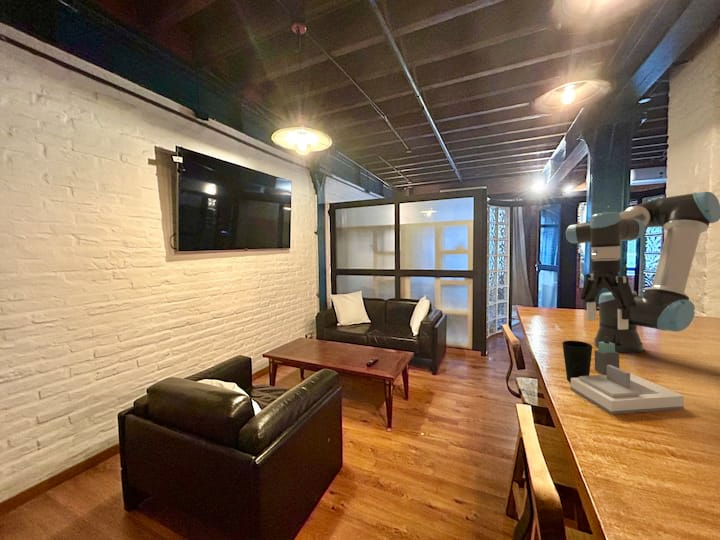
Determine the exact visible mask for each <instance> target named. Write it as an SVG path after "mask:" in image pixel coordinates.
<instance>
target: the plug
mask: <svg viewBox="0 0 720 540" xmlns="http://www.w3.org/2000/svg"><path fill="white" fill-rule="evenodd" d="M597 348H598V349H595V350H594V371H596V372H598V373H600V374H601V375H605V376H607V371H606V365H612V366H614V367H617V368H619V369H620V352H616V351H615V344H614V343H611V342H609V337H606V336H605V337H604V342H598V347H597Z"/></svg>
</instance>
